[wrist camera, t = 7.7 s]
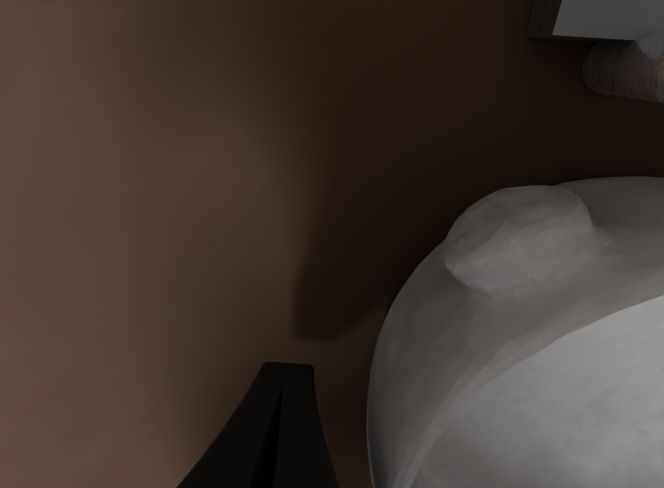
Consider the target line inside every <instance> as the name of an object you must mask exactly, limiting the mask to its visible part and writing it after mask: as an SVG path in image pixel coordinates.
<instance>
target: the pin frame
mask: <svg viewBox="0 0 664 488" xmlns="http://www.w3.org/2000/svg"><path fill="white" fill-rule="evenodd" d="M525 38H540V39H556V40H571V41H587V42H597V43H596V44H595V45H594V46H593V47H592V48H591V50H590V51H589V53H588V54H587V56H586V58H585V61H584V64H583V69H582V76H583V80H584V83H585V85H586V86H587V87H588V88H589V89H590V90H591V91H593V92H596V93H601V94H608V95H614V96H621V97H627V98H634V99H640V100H647V101H653V102H660V103H664V0H534V4H533V8H532V12H531V16H530V20H529V24H528V28H527V32H526V36H525Z"/></svg>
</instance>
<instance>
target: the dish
mask: <svg viewBox="0 0 664 488" xmlns="http://www.w3.org/2000/svg"><path fill="white" fill-rule="evenodd" d="M367 446H368V459H369V466H370V473H371V479H372V486H373V488H664V178H660V177H645V176H632V177H604V178H593V179H585V180H578V181H571V182H565V183H561V184H558V185H554V186H547V185H531V186H521V187H512V188H503V189H500V190H498V191H495V192H493V193H491V194H489V195H487V196H486V197H484V198H482V199H480V200H479V201H477V202H476V203H474V204H473V205H471V206H470V207H469V208H468V209H467V210H466V211H465V212H464V213H463V214H462V215H461V216H460V217H459V218H458V219H457V220H456V221H455V223H454V225H453V226H452V228H451V230H450V231H449V233H448V235H447V238H446V239H445V240H444V241H443V242H442V243H441V244H439V245H438V246H437V247H436V248H435V249H434V250H433V251H432V252H431V253H430V254H429V255H428V256H427V257H426V258H425V259H424V260H423V261H422V262H421V263H420V264H419V265H418V266H417V268H416V269H415V270H414V272H413V273H412V275H411V276H410V277H409V279H408V280H407V281H406V283H405V284H404V286H403V287H402V289H401V290H400V292H399V293H398V295H397V297H396V298H395V300H394V302H393V303H392V306H391V308H390V310H389V312H388V314H387V316H386V318H385V320H384V323H383V325H382V328H381V331H380V333H379V336H378V340H377V344H376V348H375V352H374V356H373V360H372V366H371V372H370V378H369V388H368V399H367Z"/></svg>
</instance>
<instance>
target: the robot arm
mask: <svg viewBox="0 0 664 488" xmlns="http://www.w3.org/2000/svg"><path fill="white" fill-rule="evenodd" d="M177 488H340V487H339V484H338V481H337V478H336V475H335V472H334V469H333V466H332V463H331V459H330V456H329V453H328V449H327V446H326V442H325V438H324V434H323V430H322V426H321V422H320V418H319V413H318V408H317V401H316V395H315V387H314V368H313V367H312V366H311V365H307V364H293V363H279V362H265V363H264V364H262V366H261V368H260V370H259V372H258V374H257V376H256V378H255V380H254V381H253V383H252V385H251V387H250V388H249V390H248V392H247V393H246V395H245V396H244V398H243V400H242V401H241V403H240V404H239V406H238V407H237V409H236V410H235V412H234V413H233V415H232V416H231V418H230V419H229V421H228V422H227V424H226V425H225V427H224V428H223V429H222V431H221V432H220V434H219V435H218V436H217V437H216V439H215V440H214V441H213V443H212V444H211V445H210V447H209V448H208V449H207V451H206V452H205V453H204V455H203V456H202V457H201V459H200V460H199V461H198V462H197V464H196V465H195V466H194V467H193V469H192V470H191V471H190V472H189V473H188V475H187V476H186V477H185V478H184V479H183V481H182V482H181V483H180V484H179V485H178V486H177Z"/></svg>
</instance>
